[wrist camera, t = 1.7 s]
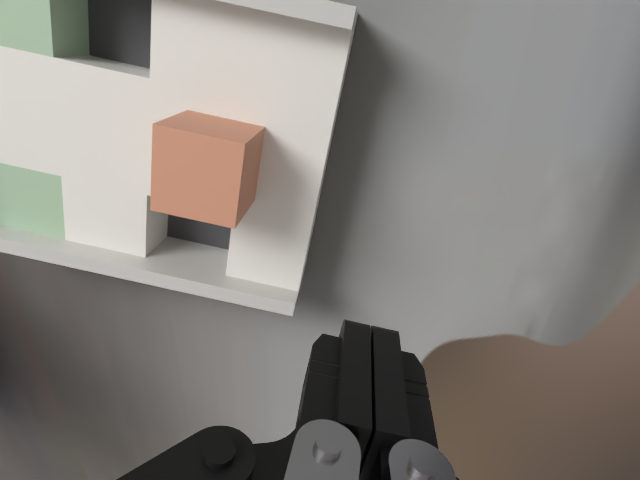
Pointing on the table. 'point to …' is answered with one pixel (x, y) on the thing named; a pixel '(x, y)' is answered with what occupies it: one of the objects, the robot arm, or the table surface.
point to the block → (205, 167)
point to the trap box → (136, 134)
